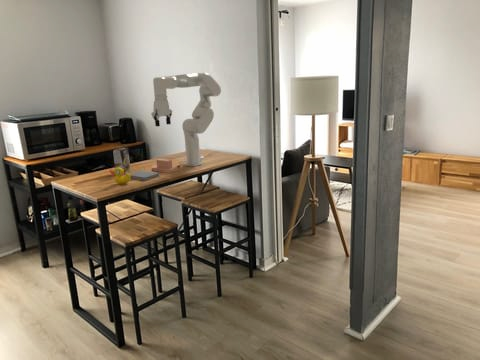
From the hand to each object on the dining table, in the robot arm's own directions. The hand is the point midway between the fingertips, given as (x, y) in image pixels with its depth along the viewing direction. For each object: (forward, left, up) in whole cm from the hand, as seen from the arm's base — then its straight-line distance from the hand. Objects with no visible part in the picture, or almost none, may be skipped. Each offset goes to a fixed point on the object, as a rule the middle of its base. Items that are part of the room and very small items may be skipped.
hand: (163, 125), depth 249 cm
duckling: (+34, -4, -31) cm, 46 cm away
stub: (-2, -4, -30) cm, 31 cm away
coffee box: (+16, -24, -31) cm, 42 cm away
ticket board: (+17, -4, -30) cm, 35 cm away
